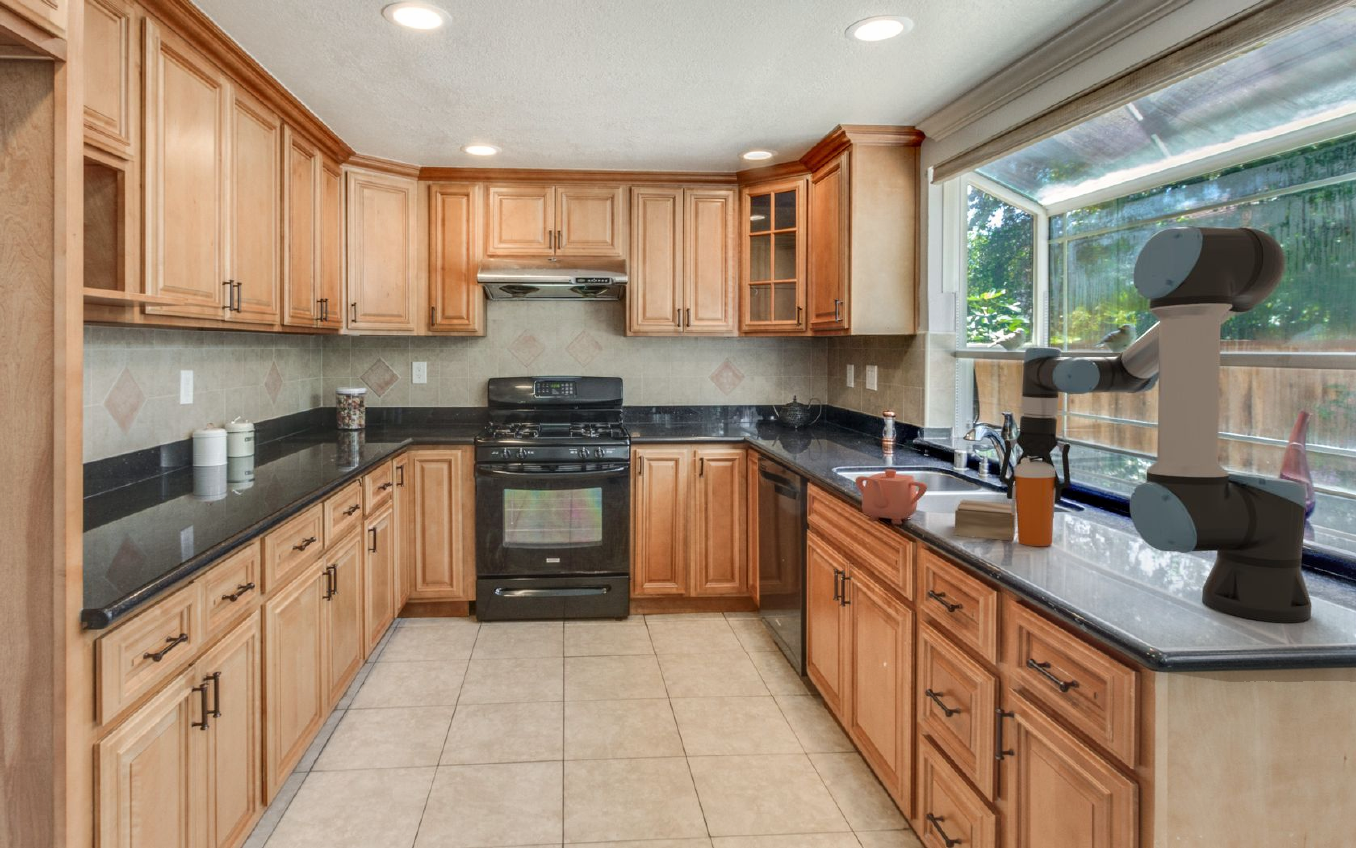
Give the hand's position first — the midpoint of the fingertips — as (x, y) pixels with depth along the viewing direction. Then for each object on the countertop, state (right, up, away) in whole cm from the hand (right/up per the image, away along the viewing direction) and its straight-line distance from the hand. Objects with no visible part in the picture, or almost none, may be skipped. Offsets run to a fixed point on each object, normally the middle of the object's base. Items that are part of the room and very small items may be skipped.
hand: (1032, 514), depth 179 cm
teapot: (-26, -4, +25) cm, 37 cm away
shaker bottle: (+1, -7, 0) cm, 7 cm away
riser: (-6, -6, +11) cm, 14 cm away
